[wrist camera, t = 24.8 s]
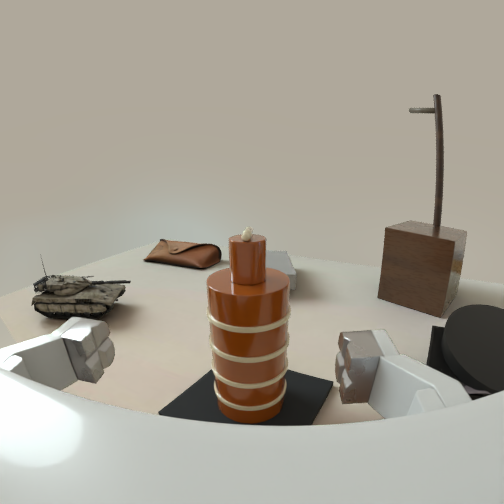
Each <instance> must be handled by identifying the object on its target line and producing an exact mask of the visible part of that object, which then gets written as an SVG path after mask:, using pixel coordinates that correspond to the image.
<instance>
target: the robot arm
mask: <svg viewBox="0 0 504 504" xmlns="http://www.w3.org/2000/svg"><path fill="white" fill-rule="evenodd" d="M109 334H110V330H109V326H108V324H107V323H106V322H105V321H98V320H92V319H86V318H80V317H71V318H70V319H69V320H68V321H66V322H65V323H64V324H63V325H61V326H60V327H59V328H58V329H57V330H55V331H54V332H53V333H52V334H50V335H49V334H47V335H43V336H40V337H37V338H34V339H31V340H28V341H24V342H21V343H18V344H15V345H12V346H8V347H5V348H2V349H0V504H504V390H503V391H501V392H498V393H495V394H492V395H489V396H486V397H482V398H479V399H476V400H472V399H471V398H470V396H469V395H468V393H467V392H466V390H465V389H464V387H463V386H462V384H461V383H460V382H459V381H458V380H456V379H453V378H451V377H449V376H447V375H445V374H443V373H441V372H439V371H437V370H435V369H433V368H431V367H429V366H427V365H425V364H423V363H421V362H419V361H417V360H415V359H413V358H411V357H409V356H407V355H405V354H402V355H400V353H399V352H398V350H397V348H396V347H395V345H394V343H393V342H392V340H391V338H390V337H389V335H388V334H387V332H386V330H384V329H378V330H367V331H353V332H341V333H340V336H339V341H338V345H339V348H340V352H339V353H338V354H337V355H336V363H335V373H336V379H337V382H338V383H340V388H339V392H340V397H341V401H342V404H353V403H368V404H369V405H370V406H371V407H372V408H373V409H374V410H376V411H377V412H378V413H379V414H380V415H381V416H382V417H383V418H385V419H382V420H374V421H365V422H356V423H344V424H331V425H310V426H260V425H239V424H225V423H214V422H204V421H196V420H188V419H180V418H174V417H167V416H161V415H155V414H150V413H145V412H140V411H135V410H130V409H126V408H121V407H117V406H113V405H109V404H105V403H101V402H97V401H93V400H90V399H86V398H83V397H79V396H76V395H73V394H70V393H67V392H63V391H61V390H62V389H64V388H66V387H68V386H69V385H71V384H73V383H75V382H76V381H78V380H82V381H86V382H91V383H95V384H96V383H97V382H98V380H99V379H100V378H101V376H102V375H103V374H104V370H103V369H105V368H107V367H109V366H110V365H111V363H112V362H113V359H114V356H115V350H114V345H113V342H112V341H111V340H110V339H109Z"/></svg>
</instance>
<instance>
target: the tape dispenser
mask: <svg viewBox="0 0 504 504" xmlns="http://www.w3.org/2000/svg"><path fill="white" fill-rule="evenodd" d="M427 366H429V367H431V368H433V369H435V370H437V371H439V372H441V373H443V374H445V375H447V376H449V377H451V378H453V379H456V380H458V381H459V382H460V383H461V384H462V386H463V387H464V389H465V390H466V392H467V393H468V395H469V396H470V398H471V399H472V400H476V399H479V398H482V397H486V396H489V395H492V394H495V393H498V392H501V391H503V390H504V309H501V308H498V307H494V306H489V305H468V306H464V307H461V308H459V309H457V310H456V311H454V312H453V313H452V314H451V315H450V316H449V318H448V320H447V322H446V325H445V328H444V327H438V326H432V333H431V340H430V347H429V353H428V359H427Z"/></svg>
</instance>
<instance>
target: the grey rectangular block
mask: <svg viewBox="0 0 504 504" xmlns="http://www.w3.org/2000/svg"><path fill="white" fill-rule="evenodd" d="M266 267H268V268H272V269H276V270H279V271H282V272H284V273H285V274H286V275H288V277H289V279H290V290H294V289H295V287H296V276H297V274H296V272H295V270H294V267H293V265H292V263H291V260H290V258H289V256H288V253H287V251H267V250H266Z"/></svg>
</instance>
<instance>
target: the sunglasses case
mask: <svg viewBox="0 0 504 504" xmlns="http://www.w3.org/2000/svg"><path fill="white" fill-rule="evenodd" d="M221 255H222V254H221V250H220V248H219V247H218V246H216V245H213V244H197V243H189V242H178V241H168V240H165V239H160V242H159V243H158V244H157V246H156V247H155V248H154V249H153V250H152V251H151V253H150V254H149V255H148V256H147V258H145V259H144V260H145V261H155V262H159V263H166V264H171V265H177V266H182V267H193V268H206V267H210V266H212V265H214V264H216V263H218V262H220V260H221Z"/></svg>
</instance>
